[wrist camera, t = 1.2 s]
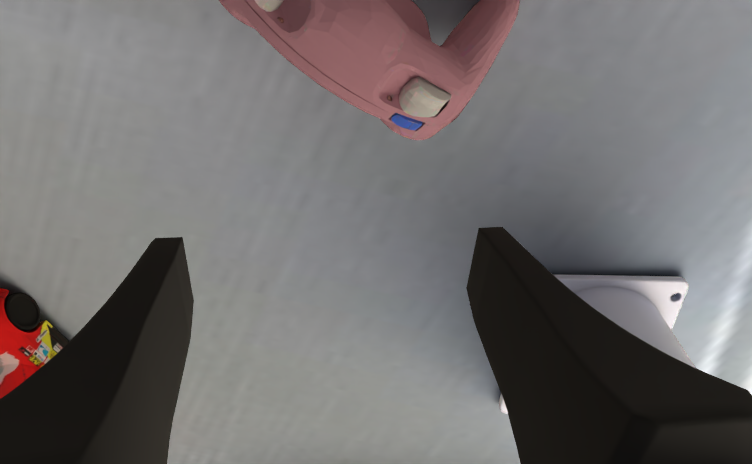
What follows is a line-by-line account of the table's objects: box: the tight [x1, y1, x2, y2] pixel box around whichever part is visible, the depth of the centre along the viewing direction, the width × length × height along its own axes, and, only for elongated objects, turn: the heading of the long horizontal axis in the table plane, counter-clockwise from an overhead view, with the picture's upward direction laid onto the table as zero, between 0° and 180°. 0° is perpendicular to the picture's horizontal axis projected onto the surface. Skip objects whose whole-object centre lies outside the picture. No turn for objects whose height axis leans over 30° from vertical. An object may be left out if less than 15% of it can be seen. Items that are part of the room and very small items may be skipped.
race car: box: [0, 288, 69, 399], centre depth 30 cm, size 13×5×4 cm, turn 25°
